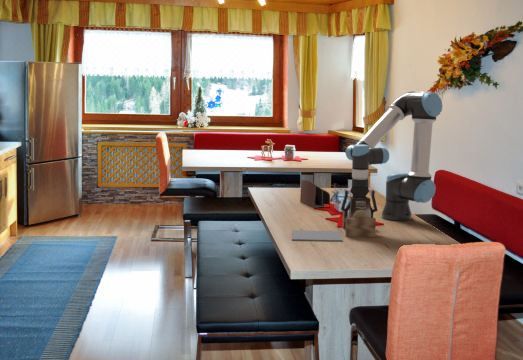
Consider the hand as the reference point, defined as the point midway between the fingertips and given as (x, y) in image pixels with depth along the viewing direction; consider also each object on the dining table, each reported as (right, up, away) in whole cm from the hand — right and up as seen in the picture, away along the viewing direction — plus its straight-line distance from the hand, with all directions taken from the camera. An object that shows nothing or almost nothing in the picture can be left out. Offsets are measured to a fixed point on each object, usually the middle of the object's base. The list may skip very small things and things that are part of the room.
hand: (358, 225), depth 311 cm
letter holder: (-15, +7, +68) cm, 70 cm away
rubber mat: (-20, -4, -10) cm, 23 cm away
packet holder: (0, -3, 0) cm, 3 cm away
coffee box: (0, -3, 0) cm, 3 cm away
